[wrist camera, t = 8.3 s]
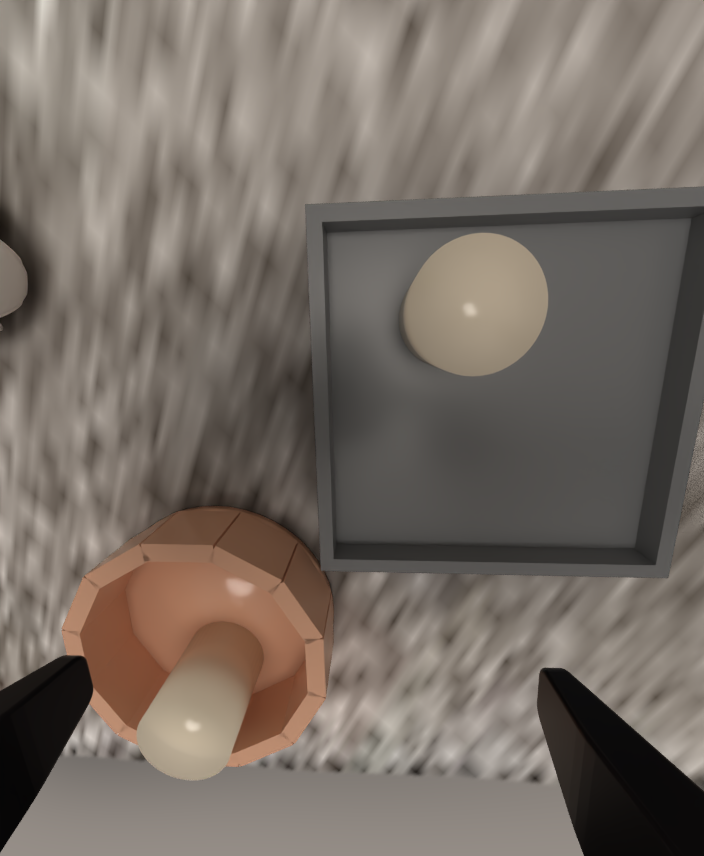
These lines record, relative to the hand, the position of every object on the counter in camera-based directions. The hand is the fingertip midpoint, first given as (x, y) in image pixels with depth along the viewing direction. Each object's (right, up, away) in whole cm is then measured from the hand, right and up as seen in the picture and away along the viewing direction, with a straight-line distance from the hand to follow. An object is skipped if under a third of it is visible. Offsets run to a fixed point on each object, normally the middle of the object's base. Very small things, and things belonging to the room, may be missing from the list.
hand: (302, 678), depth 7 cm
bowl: (-6, -5, +12) cm, 14 cm away
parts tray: (+7, +6, +9) cm, 13 cm away
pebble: (+5, +9, +8) cm, 13 cm away
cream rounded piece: (-6, -7, +12) cm, 15 cm away
